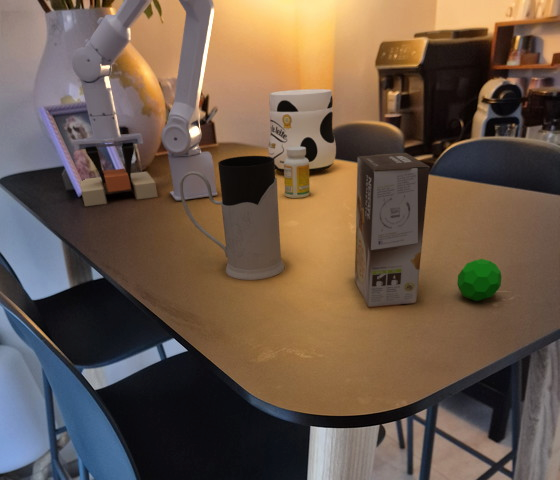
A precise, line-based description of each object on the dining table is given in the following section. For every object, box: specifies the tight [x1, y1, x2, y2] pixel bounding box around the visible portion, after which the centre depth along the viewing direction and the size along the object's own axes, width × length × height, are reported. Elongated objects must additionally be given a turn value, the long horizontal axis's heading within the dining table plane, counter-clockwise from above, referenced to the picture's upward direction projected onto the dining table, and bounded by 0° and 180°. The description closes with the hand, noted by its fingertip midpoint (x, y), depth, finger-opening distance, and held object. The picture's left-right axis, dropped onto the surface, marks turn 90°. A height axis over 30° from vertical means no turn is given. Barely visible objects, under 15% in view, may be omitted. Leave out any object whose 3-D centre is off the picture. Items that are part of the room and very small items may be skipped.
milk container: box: [267, 88, 337, 174], centre depth 129 cm, size 17×17×18 cm
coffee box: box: [354, 152, 431, 308], centre depth 63 cm, size 9×6×16 cm
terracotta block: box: [103, 168, 131, 192], centre depth 117 cm, size 5×8×3 cm, turn 20°
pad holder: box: [79, 171, 158, 208], centre depth 120 cm, size 16×14×3 cm
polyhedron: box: [456, 258, 502, 302], centre depth 62 cm, size 5×5×5 cm
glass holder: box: [180, 155, 285, 281], centre depth 72 cm, size 9×14×15 cm, turn 80°
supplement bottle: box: [283, 146, 310, 199], centre depth 109 cm, size 5×5×10 cm
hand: (116, 181), depth 117 cm, fingers closed on terracotta block, 5 cm apart
